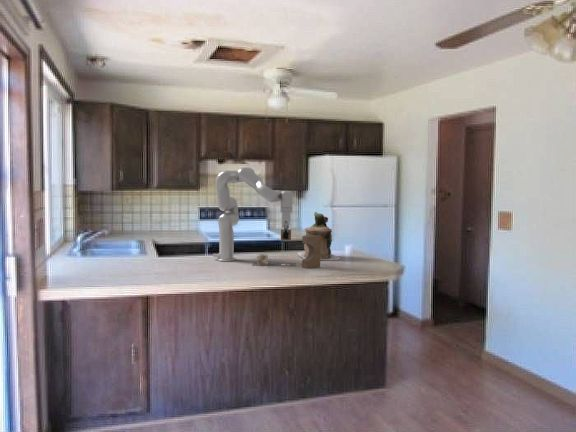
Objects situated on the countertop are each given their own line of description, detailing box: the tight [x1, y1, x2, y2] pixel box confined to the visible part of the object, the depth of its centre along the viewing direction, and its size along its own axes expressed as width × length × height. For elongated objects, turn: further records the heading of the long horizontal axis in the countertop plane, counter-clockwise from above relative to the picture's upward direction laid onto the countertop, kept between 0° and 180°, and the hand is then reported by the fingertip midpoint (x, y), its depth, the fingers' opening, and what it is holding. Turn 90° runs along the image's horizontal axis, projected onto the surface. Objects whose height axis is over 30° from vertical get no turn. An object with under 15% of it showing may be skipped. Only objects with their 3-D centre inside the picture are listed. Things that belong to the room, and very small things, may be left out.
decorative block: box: [301, 235, 321, 269], centre depth 310 cm, size 11×6×20 cm, turn 127°
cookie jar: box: [297, 211, 340, 262], centre depth 344 cm, size 25×25×32 cm
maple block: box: [256, 253, 269, 265], centre depth 317 cm, size 6×6×6 cm
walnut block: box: [280, 228, 292, 241], centre depth 317 cm, size 6×6×6 cm
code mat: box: [251, 262, 297, 267], centre depth 318 cm, size 28×12×1 cm, turn 90°
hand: (285, 237), depth 318 cm, fingers closed on walnut block, 6 cm apart
